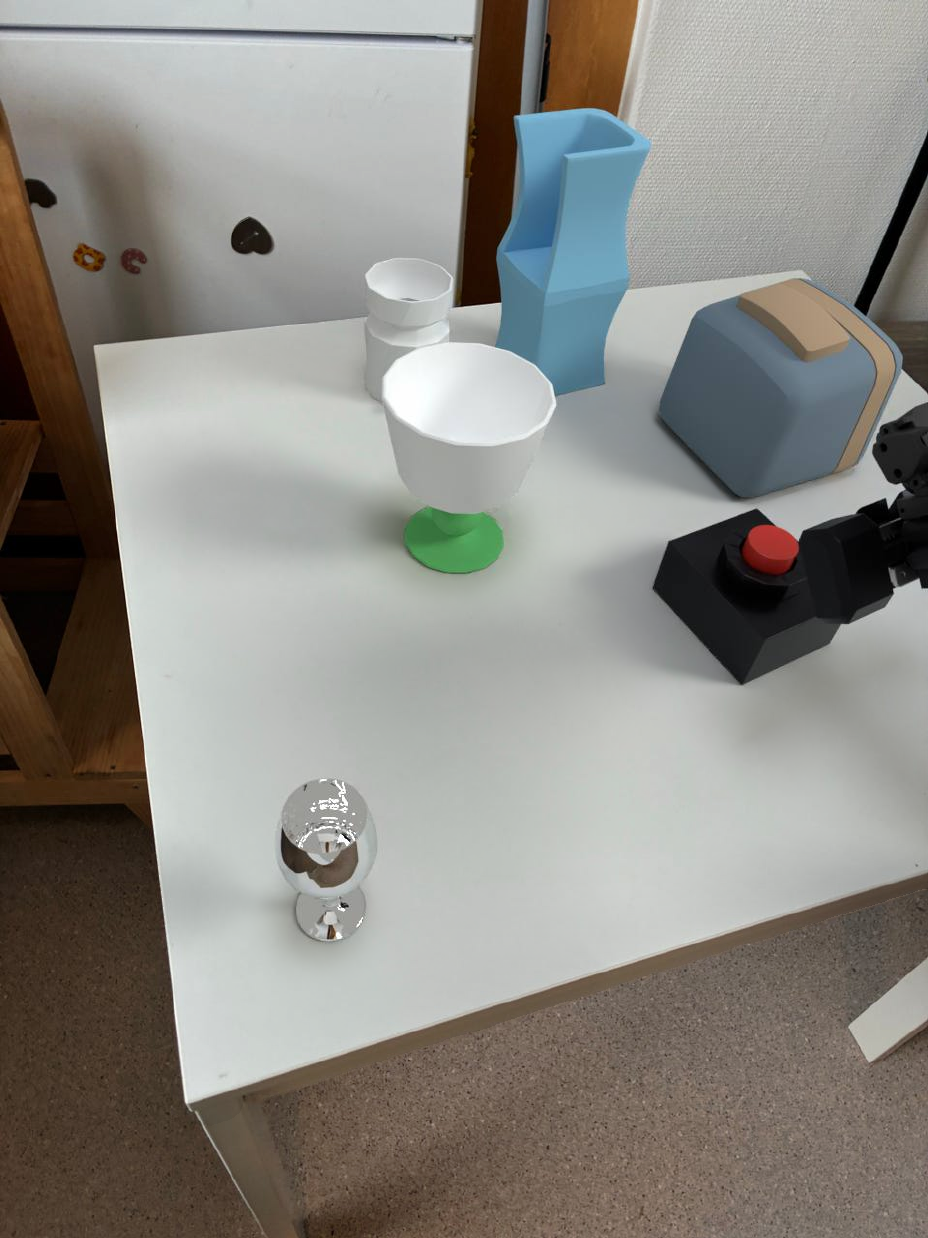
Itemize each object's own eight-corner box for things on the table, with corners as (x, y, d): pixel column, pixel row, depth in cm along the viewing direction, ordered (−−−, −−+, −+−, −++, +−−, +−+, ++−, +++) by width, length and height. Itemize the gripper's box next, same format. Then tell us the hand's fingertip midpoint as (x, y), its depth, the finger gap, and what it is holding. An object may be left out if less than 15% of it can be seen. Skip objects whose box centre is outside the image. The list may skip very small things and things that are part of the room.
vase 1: (386, 416, 93) (388, 310, 84) (351, 371, 97) (349, 266, 88) (460, 397, 96) (470, 292, 87) (422, 354, 101) (428, 251, 92)
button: (801, 565, 72) (809, 550, 71) (764, 581, 71) (772, 565, 70) (767, 534, 75) (774, 519, 73) (731, 549, 73) (737, 533, 72)
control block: (829, 644, 77) (866, 583, 71) (741, 685, 73) (772, 625, 67) (737, 554, 83) (763, 491, 78) (651, 587, 79) (673, 525, 74)
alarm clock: (864, 472, 93) (937, 334, 81) (739, 511, 87) (797, 369, 75) (764, 385, 102) (817, 250, 90) (646, 415, 97) (685, 274, 85)
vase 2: (485, 353, 102) (512, 115, 83) (559, 337, 105) (601, 105, 87) (528, 402, 96) (567, 158, 78) (605, 383, 100) (660, 146, 81)
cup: (365, 496, 84) (365, 346, 72) (505, 481, 87) (527, 335, 76) (395, 603, 76) (400, 453, 64) (548, 582, 79) (581, 435, 67)
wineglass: (302, 967, 55) (289, 880, 46) (273, 885, 59) (257, 790, 50) (389, 930, 57) (393, 841, 48) (357, 853, 61) (355, 756, 52)
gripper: (1100, 357, 55) (886, 407, 69) (889, 433, 48) (700, 470, 62) (1132, 533, 57) (917, 546, 71) (933, 630, 50) (739, 623, 64)
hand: (823, 543), depth 67 cm, fingers closed
